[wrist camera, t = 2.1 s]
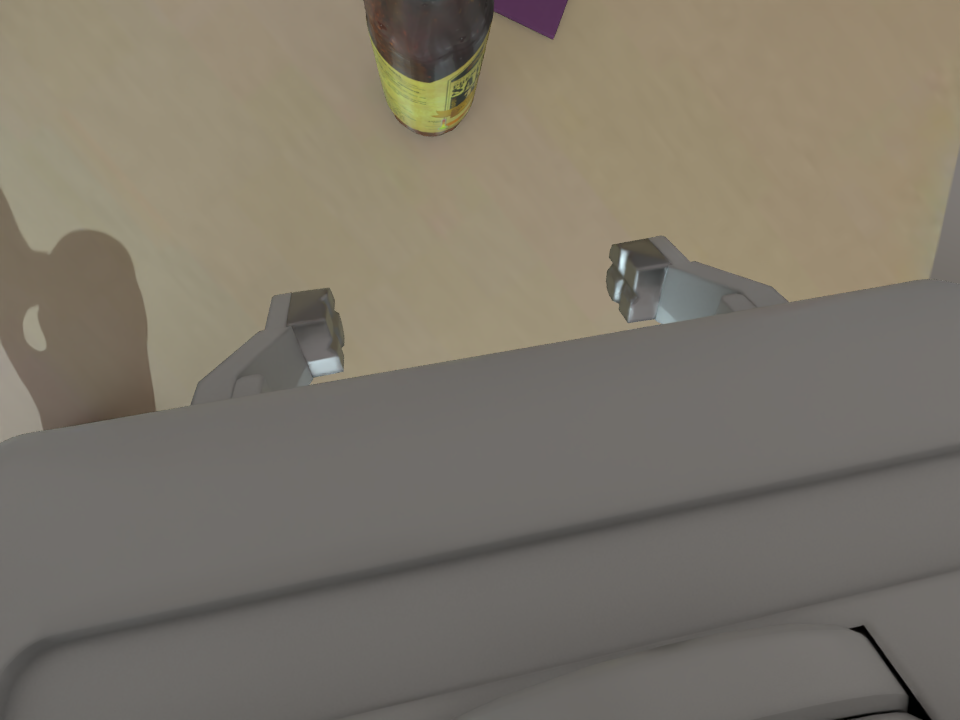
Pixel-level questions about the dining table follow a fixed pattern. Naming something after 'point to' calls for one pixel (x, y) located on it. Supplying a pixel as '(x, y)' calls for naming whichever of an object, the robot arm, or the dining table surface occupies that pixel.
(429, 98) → the sauce bottle
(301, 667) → the robot arm
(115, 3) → the dining table surface
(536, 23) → the purple flat rectangular panel
